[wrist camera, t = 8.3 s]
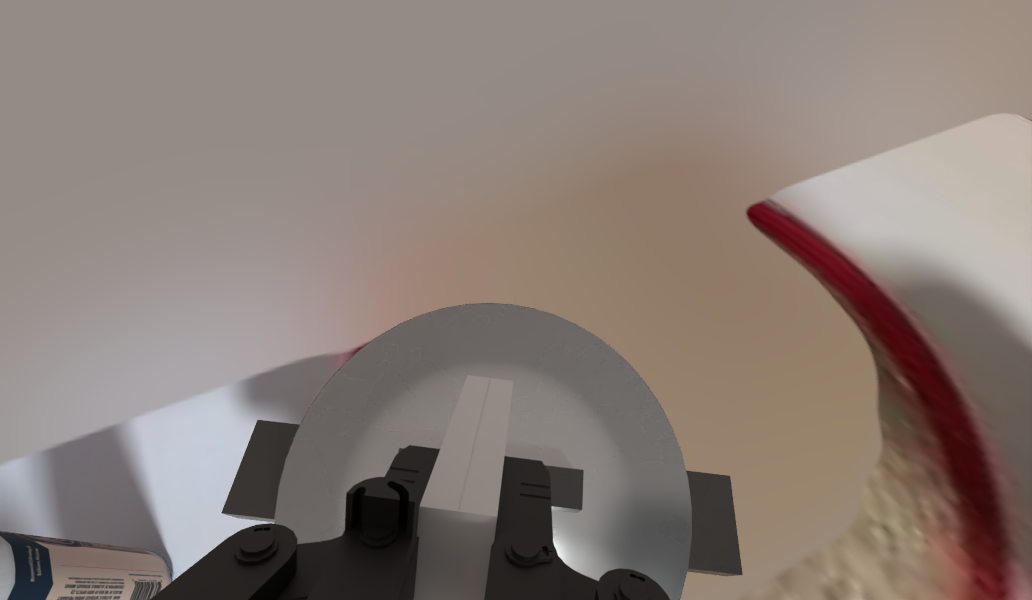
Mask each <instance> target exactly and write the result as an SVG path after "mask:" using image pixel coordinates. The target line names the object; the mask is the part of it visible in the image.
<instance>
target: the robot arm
mask: <svg viewBox="0 0 1032 600" xmlns="http://www.w3.org/2000/svg"><path fill="white" fill-rule="evenodd" d="M512 389H513V381H510V380H502V379H495V378H487V377H479V376H471V375H467V378H466V380H465V383H464V386H463V389H462V391H461V394H460V397H459V400H458V402H457V405H456V408H455V410H454V413H453V416H452V419H451V421H450V424H449V427H448V430H447V432H446V435H445V438H444V441H443V443H442V446H441V449H436V448H428V447H421V446H413V445H409V446H407V447H406V448H405V449H403V450H402V451H400V452H399V453H398V454H396V456H395V458H394V460H393V461H392V463H391V465H390V468H389V469H388V471H387V473H386V475H385V477H375V478H370V479H366V480H363V481H361V482H359V483H357V484H355V485H354V486H353V487H352V488H351V489H350V490H349V491H348V492H347V493H346V512H345V530H344V532H343V534H342V536H339V537H337V538H334V539H331V540H326V541H320V542H312V543H303V544H298V539H297V537H296V535H295V533H294V531H292V530H291V529H289V528H287V527H286V526H284V525H278V524H272V523H270V524H260V525H255V526H252V527H249V528H245V529H242V530H240V531H239V532H237V533H235V534H234V535H232V536H230V537H229V538H227V539H226V540H225V541H223V542H222V543H221V544H219V545H218V546H217V547H216V548H214V549H213V550H212V551H211V552H209V553H208V554H207V555H206V556H204V557H203V558H202V559H200V560H199V561H198V562H197V563H195V564H194V565H193V566H192V567H190V568H189V569H188V570H186V571H185V572H184V573H183V574H181V575H180V576H179V577H178V578H176V579H175V580H174V581H173V582H171V583H170V584H169V585H167V586H166V587H165V588H164V589H162V590H161V591H160V592H159V593H157V594H156V595H155V596H153V597H152V598H151V599H150V600H670V598H669V596H668V595H667V594H666V592H665V591H664V590H663V589H662V587H661V586H660V585H659V584H658V583H657V582H655V581H654V580H653V579H651V578H650V577H648V576H647V575H645V574H643V573H640V572H637V571H635V570H632V569H622V568H618V569H614V570H610V571H607V572H606V573H605V574H604V575H602V576H601V577H600V579H599V581H597V580H595V579H592V578H590V577H588V576H585V575H583V574H581V573H579V572H577V571H575V570H573V569H572V568H570V567H569V566H568V565H567V564H565V563H564V562H563V560H562V559H561V558H560V557H559V556H558V554H557V551H556V548H555V547H554V543H553V527H552V505H551V489H550V488H551V483H550V472H549V471H548V470H547V468H546V467H545V465H544V464H543V462H542V461H539V460H531V459H524V458H516V457H508V456H505V448H506V439H507V431H508V423H509V414H510V406H511V398H512Z"/></svg>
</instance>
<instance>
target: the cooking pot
mask: <svg viewBox="0 0 1032 600" xmlns="http://www.w3.org/2000/svg"><path fill="white" fill-rule="evenodd" d="M299 426H300V425H297V424H288V423H280V422H271V421H263V420H257V423H256V425H255V428H254V431H253V433H252V436H251V438H250V441H249V443H248V446H247V449H246V451H245V454H244V456H243V459H242V462H241V464H240V467H239V469H238V472H237V474H236V477H235V480H234V482H233V485H232V487H231V490H230V492H229V495H228V498H227V500H226V503H225V505H224V508H223V510H222V513H223V514H226V515H229V516H233V517H236V518H242V519H250V520H258V521H267V522H275V511H276V503H277V496H278V488H279V484H280V480H281V476H282V472H283V468H284V465H285V461H286V458H287V455H288V452H289V450H290V447H291V445H292V442H293V440H294V437H295V434H296V432H297V430H298V428H299ZM686 472H687V476H688V482H689V490H690V498H691V506H692V540H691V548H690V557H689V565H688V570H687V572H696V573H704V574H713V575H721V576H733V575H734V576H735V575H742V568H741V560H740V553H739V544H738V536H737V528H736V520H735V512H734V505H733V497H732V488H731V480H730V476H726V475H717V474H708V473H701V472H691V471H686Z"/></svg>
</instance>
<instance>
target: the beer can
mask: <svg viewBox="0 0 1032 600" xmlns="http://www.w3.org/2000/svg"><path fill="white" fill-rule="evenodd" d="M170 583H171V575H170V571H169V568H168V566H167V564H166V562H165V561H164V560H163V559H162V558H161V557H160V556H159V555H157V554H156V553H154V552H151V551H147V550H142V549H135V548H127V547H119V546H111V545H103V544H95V543H87V542H80V541H72V540H64V539H56V538H48V537H40V536H32V535H25V534H17V533H9V532H1V531H0V600H150V599H151V598H152V597H153V596H155V595H156V594H157V593H159V592H160V591H161V590H162V589H164V588H165V587H166V586H167V585H169V584H170Z"/></svg>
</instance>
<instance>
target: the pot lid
mask: <svg viewBox="0 0 1032 600" xmlns="http://www.w3.org/2000/svg"><path fill="white" fill-rule="evenodd" d="M467 375H471V376H479V377H487V378H495V379H502V380H510V381H513V389H512V398H511V406H510V414H509V423H508V431H507V439H506V448H505V456H508V457H516V458H524V459H531V460H539V461H542V462H543V464H544V465H545V467H546V468H547V470H548V471H549V472H550V483H551V488H550V489H551V505H552V527H553V543H554V547H555V548H556V551H557V554H558V556H559V557H560V558H561V559H562V560H563V562H564V563H565V564H567V565H568V566H569V567H570V568H572V569H573V570H575V571H577V572H579V573H581V574H583V575H585V576H588V577H590V578H592V579H595V580H597V581H599V579H600V577H601V576H602V575H604V574H605V573H606V572H607V571H610V570H614V569H618V568H622V569H632V570H635V571H637V572H640V573H643V574H645V575H647V576H648V577H650V578H651V579H653V580H654V581H655V582H657V583H658V584H659V585H660V586H661V587H662V589H663V590H664V591H665V592H666V594H667V595H668V596H669V598H670V600H680V598H681V594H682V590H683V586H684V582H685V578H686V574H687V570H688V565H689V557H690V548H691V540H692V506H691V498H690V490H689V482H688V476H687V472H686V469H685V465H684V461H683V456H682V452H681V450H680V447H679V444H678V442H677V439H676V436H675V434H674V431H673V428H672V426H671V424H670V422H669V421H668V418H667V416H666V414H665V412H664V411H663V409H662V407H661V405H660V403H659V402H658V400H657V399H656V397H655V396H654V394H653V393H652V391H651V390H650V388H649V387H648V385H647V384H646V383H645V381H644V380H643V379H642V378H641V377H640V375H639V374H638V373H637V372H636V371H635V370H634V368H633V367H632V366H631V365H630V364H629V363H628V362H627V361H626V360H625V359H624V358H623V357H622V356H621V355H619V354H618V353H617V352H616V351H615V350H614V349H613V348H612V347H610V346H609V345H607V344H606V343H605V342H603V341H602V340H601V339H599V338H598V337H597V336H595V335H594V334H592V333H590V332H588V331H587V330H585V329H583V328H582V327H580V326H578V325H576V324H575V323H572V322H570V321H568V320H565V319H563V318H561V317H558V316H556V315H554V314H550V313H547V312H544V311H540V310H537V309H534V308H529V307H523V306H517V305H512V304H496V303H481V304H465V305H459V306H453V307H447V308H443V309H439V310H436V311H432V312H429V313H426V314H422V315H420V316H418V317H415V318H413V319H410V320H408V321H406V322H403V323H401V324H399V325H397V326H396V327H394V328H392V329H390V330H388V331H387V332H385V333H383V334H381V335H380V336H378V337H377V338H375V339H374V340H373V341H371V342H370V343H368V344H367V345H366V346H364V347H363V348H362V349H360V350H359V351H358V352H357V353H356V354H355V355H354V356H352V357H351V358H350V359H349V360H348V361H347V362H346V363H345V364H344V365H343V366H341V368H340V369H339V370H338V371H337V372H336V373H335V374H334V376H333V377H332V378H331V379H330V380H329V381H328V382H327V384H326V385H325V386H324V387H323V389H322V390H321V392H320V393H319V395H318V396H317V398H316V399H315V400H314V402H313V403H312V405H311V406H310V408H309V409H308V411H307V413H306V415H305V417H304V419H303V421H302V423H301V424H300V426H299V428H298V430H297V432H296V434H295V437H294V440H293V442H292V445H291V447H290V450H289V452H288V455H287V458H286V461H285V465H284V468H283V472H282V476H281V480H280V484H279V488H278V496H277V503H276V511H275V524H278V525H284V526H286V527H287V528H289V529H291V530H292V531H294V533H295V535H296V537H297V539H298V544H303V543H312V542H320V541H326V540H331V539H334V538H337V537H339V536H342V534H343V532H344V530H345V512H346V493H347V492H348V491H349V490H350V489H351V488H352V487H353V486H354V485H355V484H357V483H359V482H361V481H363V480H366V479H370V478H375V477H385V475H386V473H387V471H388V469H389V468H390V465H391V463H392V461H393V460H394V458H395V456H396V454H398V453H399V452H400V451H402V450H403V449H405V448H406V447H407V446H409V445H413V446H421V447H428V448H436V449H441V446H442V443H443V441H444V438H445V435H446V432H447V430H448V427H449V424H450V421H451V419H452V416H453V413H454V410H455V408H456V405H457V402H458V400H459V397H460V394H461V391H462V389H463V386H464V383H465V380H466V378H467Z"/></svg>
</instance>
